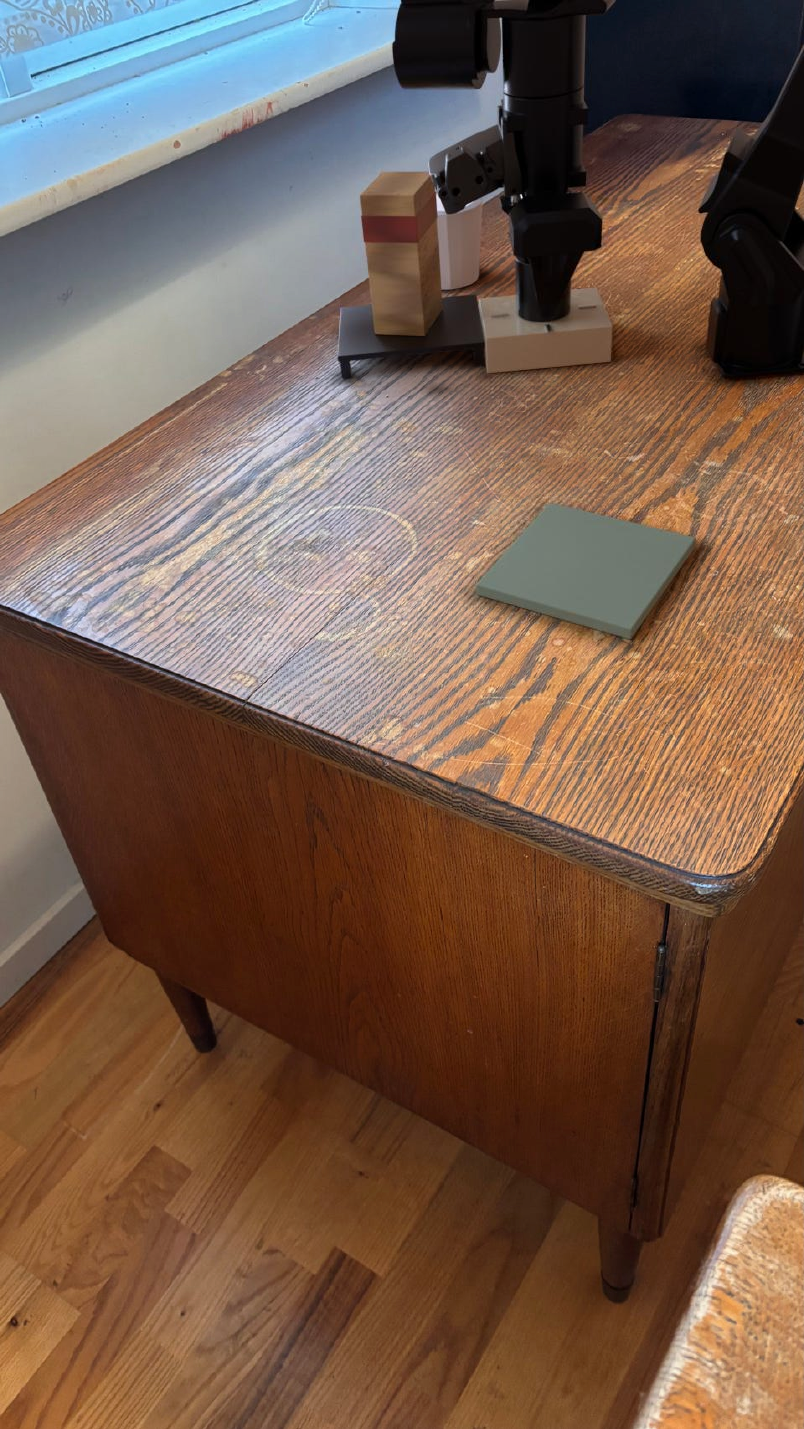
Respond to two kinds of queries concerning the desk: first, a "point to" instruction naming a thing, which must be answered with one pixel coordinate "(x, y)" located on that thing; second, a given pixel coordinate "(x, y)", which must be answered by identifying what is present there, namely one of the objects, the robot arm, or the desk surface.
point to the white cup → (459, 244)
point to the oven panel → (545, 334)
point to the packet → (402, 252)
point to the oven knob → (534, 295)
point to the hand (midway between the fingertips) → (543, 305)
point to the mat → (588, 569)
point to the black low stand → (447, 333)
